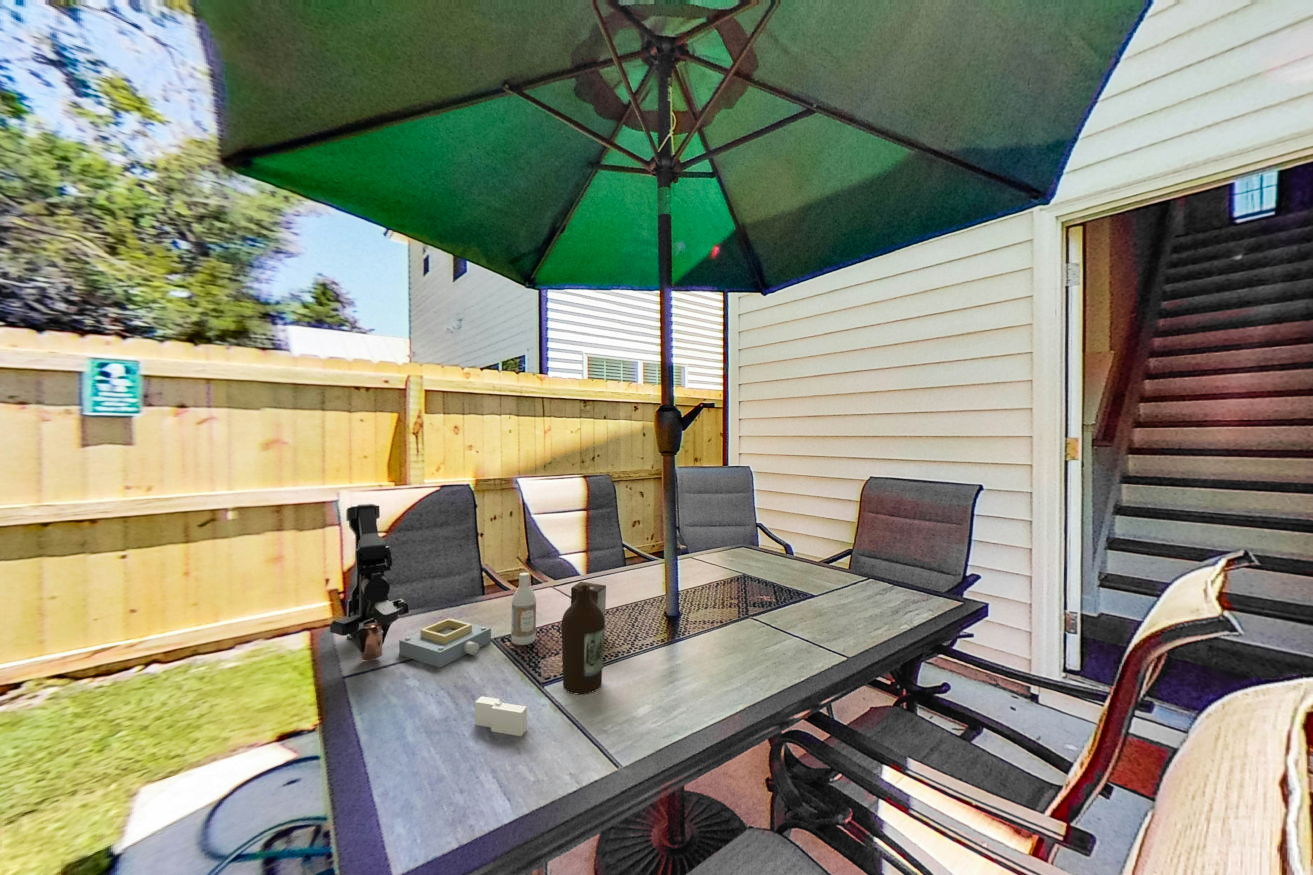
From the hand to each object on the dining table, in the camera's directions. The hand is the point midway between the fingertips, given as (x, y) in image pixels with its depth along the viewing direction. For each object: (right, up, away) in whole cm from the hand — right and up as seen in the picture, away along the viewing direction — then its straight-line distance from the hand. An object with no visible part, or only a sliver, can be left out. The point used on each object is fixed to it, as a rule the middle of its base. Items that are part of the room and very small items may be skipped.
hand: (371, 648), depth 133 cm
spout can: (0, -2, 0) cm, 2 cm away
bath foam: (+37, -4, +14) cm, 40 cm away
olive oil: (+58, -5, -11) cm, 59 cm away
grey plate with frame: (+18, -4, +8) cm, 20 cm away
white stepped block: (+43, -5, -28) cm, 52 cm away
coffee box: (+56, -4, +16) cm, 58 cm away
